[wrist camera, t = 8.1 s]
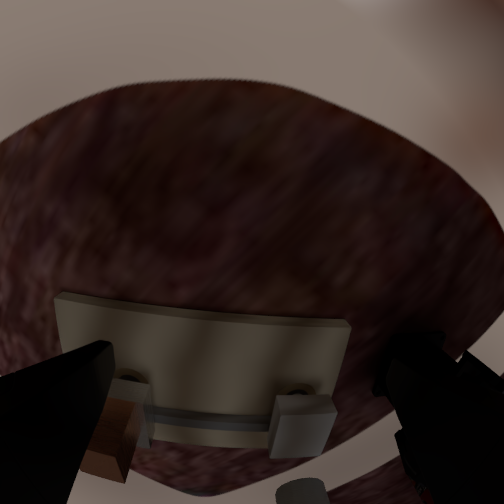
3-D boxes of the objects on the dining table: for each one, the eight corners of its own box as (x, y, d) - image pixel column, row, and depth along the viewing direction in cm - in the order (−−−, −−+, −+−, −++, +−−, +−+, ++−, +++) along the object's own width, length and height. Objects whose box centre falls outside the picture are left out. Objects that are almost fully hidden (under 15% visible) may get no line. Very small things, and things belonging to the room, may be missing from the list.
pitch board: (344, 319, 21) (371, 352, 16) (310, 435, 24) (322, 473, 19) (63, 291, 19) (28, 316, 14) (86, 412, 22) (68, 446, 17)
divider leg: (153, 375, 19) (123, 459, 11) (157, 421, 20) (138, 499, 12) (104, 366, 19) (60, 440, 11) (113, 412, 20) (82, 483, 12)
